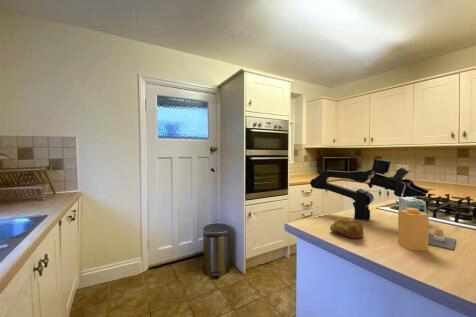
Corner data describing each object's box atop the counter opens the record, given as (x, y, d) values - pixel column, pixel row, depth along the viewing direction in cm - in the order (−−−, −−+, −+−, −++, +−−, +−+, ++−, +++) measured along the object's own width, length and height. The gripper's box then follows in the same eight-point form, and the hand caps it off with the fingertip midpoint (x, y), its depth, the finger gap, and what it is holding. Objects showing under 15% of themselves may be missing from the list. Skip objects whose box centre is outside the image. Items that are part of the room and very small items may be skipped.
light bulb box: (426, 224, 100) (426, 201, 99) (410, 223, 101) (410, 201, 101) (412, 217, 110) (412, 196, 110) (398, 216, 112) (398, 196, 111)
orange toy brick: (398, 243, 80) (398, 206, 80) (414, 242, 80) (414, 206, 79) (410, 250, 74) (410, 211, 74) (428, 250, 74) (428, 211, 73)
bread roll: (326, 234, 90) (326, 215, 90) (335, 228, 97) (335, 210, 97) (360, 242, 81) (360, 222, 81) (367, 235, 88) (367, 216, 88)
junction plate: (453, 250, 73) (453, 235, 73) (421, 243, 80) (421, 229, 80) (455, 240, 81) (455, 227, 81) (426, 234, 88) (426, 222, 88)
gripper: (385, 167, 94) (431, 177, 83) (393, 165, 107) (434, 174, 96) (378, 190, 96) (422, 204, 85) (387, 185, 109) (427, 197, 98)
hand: (427, 193), depth 91 cm, fingers open, 9 cm apart
